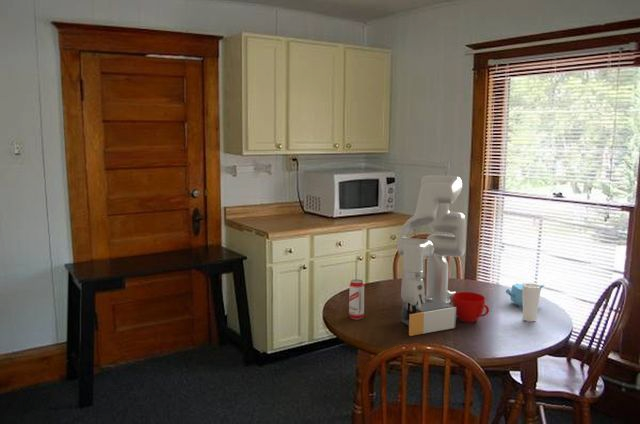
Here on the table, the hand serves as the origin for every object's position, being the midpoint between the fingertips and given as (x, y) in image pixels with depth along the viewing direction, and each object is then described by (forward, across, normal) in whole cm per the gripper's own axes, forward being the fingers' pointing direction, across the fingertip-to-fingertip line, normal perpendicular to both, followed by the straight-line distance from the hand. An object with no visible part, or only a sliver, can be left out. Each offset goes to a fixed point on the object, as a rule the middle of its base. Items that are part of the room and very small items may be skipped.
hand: (411, 319), depth 213 cm
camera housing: (+5, +4, -11) cm, 12 cm away
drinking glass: (+5, -10, -53) cm, 54 cm away
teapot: (+5, +5, -66) cm, 66 cm away
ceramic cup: (+5, -1, -30) cm, 30 cm away
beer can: (+5, +24, +11) cm, 27 cm away
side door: (+5, -4, -8) cm, 10 cm away
